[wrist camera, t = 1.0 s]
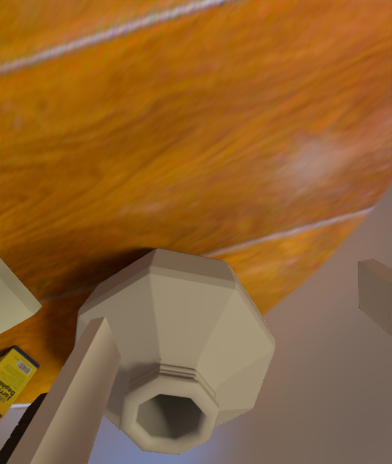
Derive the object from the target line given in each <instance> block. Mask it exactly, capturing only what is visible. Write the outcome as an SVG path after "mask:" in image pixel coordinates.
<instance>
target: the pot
mask: <svg viewBox="0 0 392 464" xmlns="http://www.w3.org/2000/svg"><path fill="white" fill-rule="evenodd" d="M104 316H105V317H106V320H107V322H108V325H109V327H110V330H111V332H112V335H113V337H114V340H115V343H116V345H117V348H118V350H119V353H120V355H121V361H120V364H119V367H118V370H117V374H116V377H115V380H114V383H113V386H112V389H111V392H110V395H109V398H108V401H107V405H106V408H105V411H104V415H105V416H106V417H107V418H108V419H109V420H110V421H111V422H112V423H113V424H114V425H115V426H116V427H117V428H118V429H119V430H122V431H123V432H124V433H125V434H126V435H127V436H128V437H129V438H130V439H131V440H132V441H133V442H134V443H135V444H136V445H137V446H138V447H139V448H140V449H141V450H142V451H148V452H156V453H164V454H173V455H179V454H181V453H183V452H185V451H187V450H189V449H191V448H194V447H196V446H198V445H200V444H202V443H204V442H206V441H208V440H209V438H210V436H211V433H212V429H213V428H214V427H216V426H218V425H220V424H222V423H224V422H226V421H228V420H230V419H232V418H234V417H236V416H238V415H240V414H242V413H244V412H246V411H248V410H250V409H252V408H253V406H254V404H255V401H256V398H257V396H258V393H259V390H260V388H261V385H262V382H263V380H264V377H265V374H266V372H267V369H268V366H269V363H270V361H271V358H272V356H273V353H274V350H275V344H276V343H275V340H274V338H273V336H272V334H271V332H270V330H269V329H268V326H267V325H266V323H265V321H264V319H263V317H262V315H261V313H260V311H259V310H258V308H257V307H256V305H255V304H254V302H253V301H252V299H251V298H250V296H249V295H248V293H247V291H246V290H245V288H244V287H243V285H242V284H241V282H240V281H239V279H238V278H237V276H236V275H235V273H234V271H233V270H232V268H231V267H230V265H229V264H228V263H227V262H225V261H222V260H217V259H212V258H207V257H202V256H197V255H192V254H187V253H182V252H176V251H171V250H166V249H161V248H159V249H154V250H153V251H151V252H150V253H148V254H146V255H145V256H143V257H142V258H140V259H138V260H137V261H135V262H133V263H132V264H130V265H129V266H127V267H125V268H124V269H122V270H121V271H119V272H117V273H116V274H114V275H113V276H111V277H109V278H108V279H106V280H105V281H103V282H101V283H100V284H98V286H97V287H96V288H95V290H94V291H93V292H92V293H91V295H90V296H89V297H88V299H87V300H86V301H85V303H84V304H83V305H82V306H81V308H80V309H79V311H78V318H77V328H76V337H75V346H76V344H77V342H78V341H79V339H80V337H81V336H82V334H83V332H84V330H85V329H86V327H87V325H88V324H89V322H90V320H91V319H95V318H100V317H104Z"/></svg>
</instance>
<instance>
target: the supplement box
mask: <svg viewBox="0 0 392 464" xmlns="http://www.w3.org/2000/svg"><path fill="white" fill-rule="evenodd" d="M38 368H39V365H38V364H37V363H36V362H35V361H34V360H32V359H31V358H30V357H29V356H28V355H26V354H25V353H24V352H23V351H22V350H21V349H19V348H18V347H17V346H14V347H13V348H12V349H11V350H9V351H8V352H7V353H5V354H4V355H3V356H1V357H0V421H1V419H2V418H3V417H4V415H5V414H6V413H7V411H8V410H9V408H10V407H11V406H12V404H13V403H14V401H15V400H16V398H17V397H18V396H19V394H20V393H21V391H22V390H23V389H24V387H25V386H26V385H27V383H28V382H29V380H30V379H31V378H32V376H33V375H34V373H35V372H36V371H37V369H38Z"/></svg>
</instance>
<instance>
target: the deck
mask: <svg viewBox="0 0 392 464" xmlns="http://www.w3.org/2000/svg"><path fill="white" fill-rule="evenodd" d="M41 307H42V305H41V304H40V303H39V302H38V301H37V299H36V298H35V297H34V296H33V295H32V294H31V293H30V291H29V290H28V289H27V288H26V287H25V286H24V285H23V283H22V282H21V281H20V280H19V279H18V278H17V277H16V275H15V274H14V273H13V272H12V271H11V270H10V269H9V267H8V266H7V265H6V264H5V263H4V262H3V261H2V259H1V258H0V334H1V333H2V332H4V331H6V330H8V329H10V328H11V327H13V326H15V325H17V324H19V323H20V322H22V321H24V320H26V319H27V318H29V317H31V316H33V315H34V314H35V313H36V312H37V311H38V310H39V309H40V308H41Z"/></svg>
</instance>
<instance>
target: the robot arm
mask: <svg viewBox="0 0 392 464" xmlns="http://www.w3.org/2000/svg"><path fill="white" fill-rule="evenodd" d="M358 288H359V308H360V309H361V310H362V311H363V312H364V313H365V314H366V315H368V316H369V317H370V318H371V319H372V320H373V321H374V322H375V323H377V324H378V325H379V326H380V327H381V328H382V329H383V330H385V331H386V332H387V333H388V334H389V335H390V336H391V337H392V269H391V268H389V267H388V266H386V265H384V264H382V263H380V262H378V261H376V260H375V259H369V260H364V261H359V262H358ZM120 361H121V355H120V353H119V350H118V348H117V345H116V343H115V340H114V337H113V335H112V332H111V330H110V327H109V325H108V322H107V320H106V317H105V316H104V317H100V318H95V319H91V320H90V322H89V324H88V325H87V327H86V329H85V330H84V332H83V334H82V336H81V337H80V339H79V341H78V342H77V344H76V346H75V347H74V349H73V351H72V353H71V354H70V356H69V358H68V359H67V361H66V363H65V365H64V366H63V368H62V370H61V371H60V373H59V375H58V376H57V378H56V380H55V382H54V383H53V385H52V387H51V388H50V390H49V392H48V393H43V394H40V395H39V396H38V397H37V398H36V400H35V401H34V402H33V403H32V404H31V405H30V406H29V407H28V408H27V410H26V411H25V413H24V414H23V416H22V418H21V419H20V421H19V422H18V425H17V426H16V427H15V429H14V430H13V432H12V434H11V436H10V438H9V439H8V440H7V441H6V443H5V445H4V446H3V448H2V449H1V451H0V464H87V463H88V460H89V457H90V454H91V451H92V448H93V445H94V442H95V438H96V435H97V432H98V429H99V426H100V423H101V420H102V417H103V414H104V411H105V408H106V405H107V401H108V398H109V395H110V392H111V389H112V386H113V383H114V380H115V377H116V374H117V370H118V367H119V364H120Z"/></svg>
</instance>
